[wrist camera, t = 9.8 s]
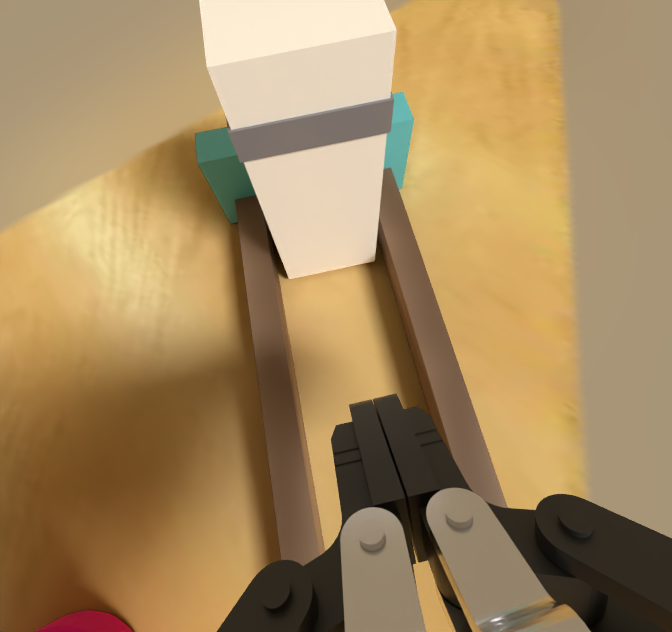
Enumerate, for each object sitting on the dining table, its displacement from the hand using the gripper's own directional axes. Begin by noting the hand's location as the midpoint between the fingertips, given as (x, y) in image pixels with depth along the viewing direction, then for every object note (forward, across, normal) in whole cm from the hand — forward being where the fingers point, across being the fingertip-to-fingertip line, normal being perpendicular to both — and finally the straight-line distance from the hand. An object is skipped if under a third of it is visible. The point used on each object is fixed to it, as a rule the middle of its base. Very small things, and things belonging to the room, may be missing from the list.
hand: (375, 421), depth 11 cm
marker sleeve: (+12, 0, -3) cm, 13 cm away
